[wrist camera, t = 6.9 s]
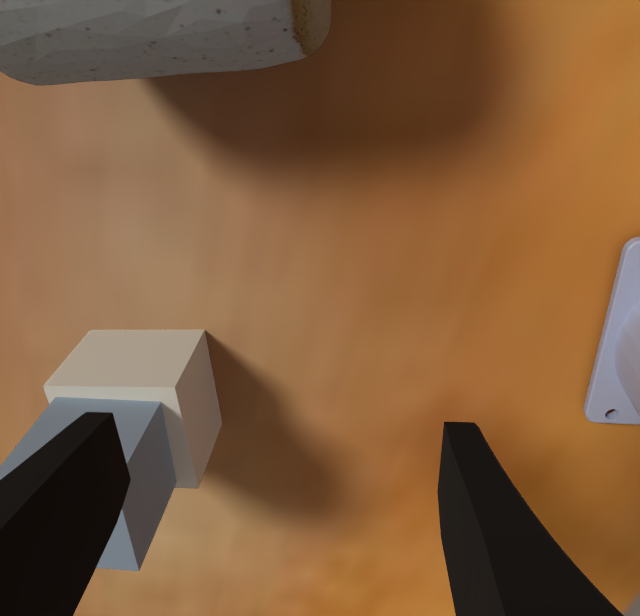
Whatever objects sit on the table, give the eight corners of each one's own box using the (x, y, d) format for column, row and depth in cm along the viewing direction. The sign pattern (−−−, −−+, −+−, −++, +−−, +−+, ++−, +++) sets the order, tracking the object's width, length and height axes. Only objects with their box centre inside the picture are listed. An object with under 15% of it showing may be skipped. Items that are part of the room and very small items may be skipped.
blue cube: (160, 401, 21) (115, 485, 17) (176, 481, 23) (139, 571, 19) (55, 396, 21) (-9, 477, 18) (80, 475, 23) (26, 562, 20)
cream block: (205, 328, 24) (174, 387, 20) (223, 421, 26) (198, 488, 23) (91, 328, 25) (42, 386, 21) (118, 420, 27) (79, 484, 24)
